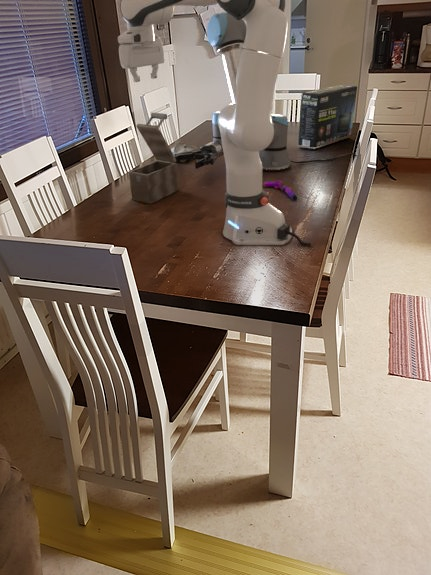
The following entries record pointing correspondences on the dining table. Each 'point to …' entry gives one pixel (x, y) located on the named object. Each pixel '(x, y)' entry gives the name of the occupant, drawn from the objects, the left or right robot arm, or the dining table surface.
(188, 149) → the fossil
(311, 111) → the router box
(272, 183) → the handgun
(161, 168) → the chest
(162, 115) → the lid
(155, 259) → the dining table surface
